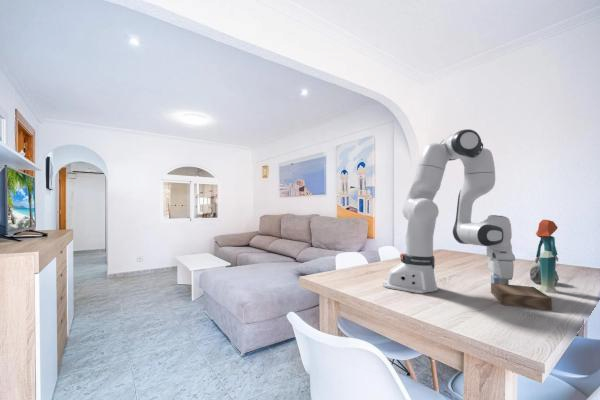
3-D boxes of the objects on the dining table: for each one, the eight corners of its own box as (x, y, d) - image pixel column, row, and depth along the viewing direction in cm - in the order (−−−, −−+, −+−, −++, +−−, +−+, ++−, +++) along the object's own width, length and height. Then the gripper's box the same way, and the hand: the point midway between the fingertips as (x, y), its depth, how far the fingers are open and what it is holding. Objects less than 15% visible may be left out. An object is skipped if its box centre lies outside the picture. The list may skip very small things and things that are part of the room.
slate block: (494, 289, 113) (494, 277, 114) (491, 286, 118) (490, 275, 118) (508, 291, 112) (508, 279, 112) (504, 287, 116) (504, 276, 116)
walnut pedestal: (502, 304, 96) (502, 293, 96) (491, 292, 109) (490, 283, 109) (551, 310, 91) (551, 298, 91) (533, 297, 104) (533, 286, 104)
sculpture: (568, 295, 106) (567, 220, 106) (548, 294, 107) (547, 220, 108) (545, 286, 118) (544, 218, 119) (528, 285, 120) (526, 218, 120)
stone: (548, 263, 120) (542, 258, 128) (526, 275, 124) (522, 270, 132) (567, 281, 116) (560, 275, 125) (544, 293, 120) (539, 287, 129)
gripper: (483, 248, 126) (484, 278, 126) (497, 256, 107) (498, 290, 107) (500, 249, 124) (500, 279, 123) (516, 257, 105) (517, 292, 104)
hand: (499, 284), depth 115 cm, fingers closed on slate block, 5 cm apart
